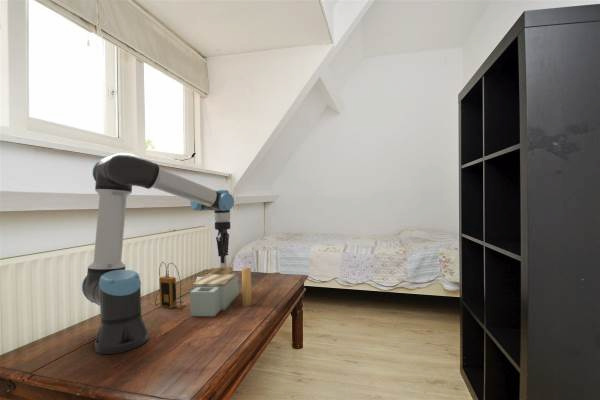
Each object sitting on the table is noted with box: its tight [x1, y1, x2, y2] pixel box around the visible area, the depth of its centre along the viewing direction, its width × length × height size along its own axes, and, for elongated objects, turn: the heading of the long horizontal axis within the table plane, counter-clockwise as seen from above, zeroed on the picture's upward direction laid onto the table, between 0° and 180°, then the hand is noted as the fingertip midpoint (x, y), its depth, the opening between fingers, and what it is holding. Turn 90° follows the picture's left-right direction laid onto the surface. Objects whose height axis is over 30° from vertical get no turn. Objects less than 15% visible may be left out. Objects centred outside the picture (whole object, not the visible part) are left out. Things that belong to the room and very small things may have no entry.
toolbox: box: [189, 274, 239, 317], centre depth 136 cm, size 14×27×10 cm, turn 175°
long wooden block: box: [241, 267, 253, 307], centre depth 135 cm, size 4×4×16 cm
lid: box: [192, 266, 239, 287], centre depth 140 cm, size 14×20×4 cm
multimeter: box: [154, 261, 188, 309], centre depth 138 cm, size 15×10×20 cm
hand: (223, 269), depth 150 cm, fingers closed
